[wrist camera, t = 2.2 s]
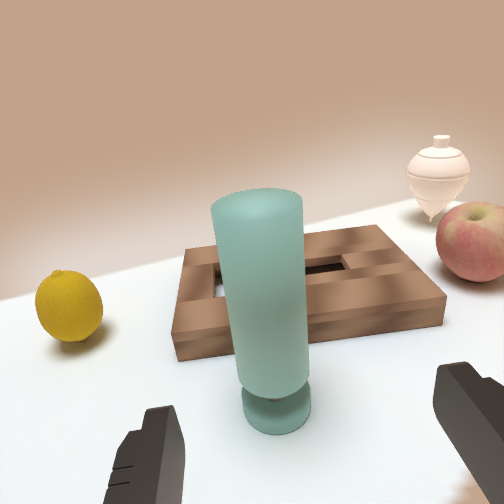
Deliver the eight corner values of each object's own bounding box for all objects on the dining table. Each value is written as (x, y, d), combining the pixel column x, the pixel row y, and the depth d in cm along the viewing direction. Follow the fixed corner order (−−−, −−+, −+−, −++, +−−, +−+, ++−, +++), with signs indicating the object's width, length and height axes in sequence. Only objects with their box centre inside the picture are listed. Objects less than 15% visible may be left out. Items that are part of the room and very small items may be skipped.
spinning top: (389, 222, 53) (396, 138, 48) (424, 208, 57) (434, 128, 51) (437, 239, 47) (450, 145, 42) (473, 222, 51) (490, 133, 45)
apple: (420, 260, 43) (427, 196, 40) (487, 255, 43) (501, 190, 39) (449, 299, 36) (462, 225, 33) (530, 294, 36) (553, 218, 32)
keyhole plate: (178, 361, 32) (170, 333, 31) (190, 271, 47) (185, 249, 45) (442, 325, 33) (447, 295, 32) (374, 247, 47) (376, 224, 46)
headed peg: (246, 439, 25) (209, 226, 18) (241, 383, 30) (211, 194, 22) (318, 429, 25) (311, 213, 18) (303, 374, 30) (292, 184, 22)
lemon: (63, 327, 39) (35, 262, 35) (116, 317, 39) (94, 252, 36) (46, 364, 34) (11, 293, 30) (106, 353, 34) (79, 281, 31)
